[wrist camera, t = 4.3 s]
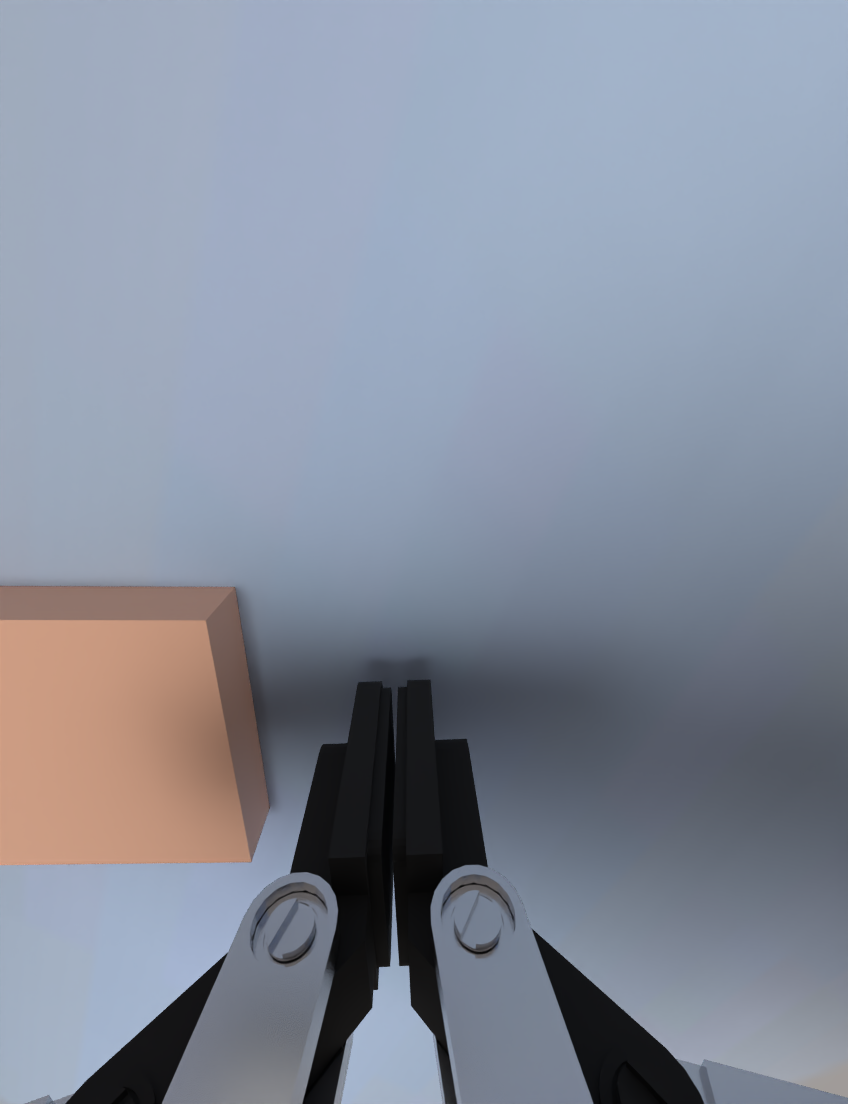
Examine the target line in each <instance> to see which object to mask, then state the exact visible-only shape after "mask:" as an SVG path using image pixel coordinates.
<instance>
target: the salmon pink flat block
mask: <svg viewBox="0 0 848 1104" xmlns="http://www.w3.org/2000/svg"><path fill="white" fill-rule="evenodd" d="M269 808H270V806H269V800H268V793H267V787H266V781H265V774H264V768H263V761H262V755H261V749H260V742H259V736H258V730H257V723H256V717H255V710H254V704H253V698H252V691H251V685H250V679H249V672H248V666H247V659H246V653H245V647H244V640H243V634H242V628H241V621H240V615H239V608H238V602H237V596H236V589H235V587H100V586H0V865H44V864H133V863H222V862H251V861H252V858H253V855H254V852H255V850H256V847H257V844H258V841H259V838H260V835H261V832H262V829H263V826H264V823H265V820H266V817H267V814H268V811H269Z"/></svg>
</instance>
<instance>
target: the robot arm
mask: <svg viewBox="0 0 848 1104" xmlns="http://www.w3.org/2000/svg"><path fill="white" fill-rule="evenodd" d="M393 873H394V888H395V904H396V920H397V936H398V951H399V966H409V972H410V993H411V1006H412V1007H413V1009H414V1010H415V1011H416V1012H417V1014H418V1015H419V1016H420V1017H421V1019H422V1020H423V1021H424V1023H425V1024H426V1025H427V1026H428V1028H429V1029H430V1030H431V1031H432V1033H433V1040H434V1047H435V1054H436V1061H437V1068H438V1075H439V1082H440V1089H441V1096H442V1103H443V1104H848V1098H846V1097H843V1096H839V1095H835V1094H831V1093H828V1092H824V1091H820V1090H817V1089H813V1088H809V1087H805V1086H802V1085H798V1084H794V1083H790V1082H787V1081H783V1080H779V1079H775V1078H772V1077H768V1076H764V1075H760V1074H757V1073H753V1072H749V1071H746V1070H742V1069H738V1068H734V1067H731V1066H727V1065H723V1064H719V1063H716V1062H712V1061H708V1060H704V1061H703V1063H702V1065H701V1066H700V1065H697V1064H693V1063H689V1062H686V1061H682V1060H678V1059H675V1058H674V1057H673V1055H672V1054H671V1053H670V1052H669V1051H668V1050H667V1049H666V1048H665V1047H664V1046H663V1045H662V1044H661V1043H659V1042H658V1041H657V1040H656V1039H655V1038H654V1037H653V1036H652V1035H650V1034H649V1033H648V1032H647V1031H646V1030H645V1029H644V1028H643V1027H641V1026H640V1025H639V1024H638V1023H637V1022H636V1021H635V1020H634V1019H632V1018H631V1017H630V1016H629V1015H628V1014H627V1013H626V1012H625V1011H624V1010H622V1009H621V1008H620V1007H619V1006H618V1005H617V1004H616V1003H615V1002H613V1001H612V1000H611V999H610V998H609V997H608V996H607V995H606V994H604V993H603V992H602V991H601V990H600V989H599V988H598V987H597V986H596V985H594V984H593V983H592V982H591V981H590V980H589V979H588V978H587V977H585V976H584V975H583V974H582V973H581V972H580V971H579V970H578V969H576V968H575V967H574V966H573V965H572V964H571V963H570V962H569V961H567V960H566V959H565V958H564V957H563V956H562V955H561V954H560V953H559V952H557V951H556V950H555V949H554V948H553V947H552V946H551V945H550V944H548V943H547V942H546V941H545V940H544V939H543V938H542V937H541V936H539V935H538V934H537V933H536V932H535V931H534V930H533V929H532V928H531V925H530V923H529V920H528V917H527V914H526V911H525V909H524V906H523V903H522V901H521V899H520V897H519V895H518V893H517V891H516V889H515V888H514V887H513V886H512V884H511V883H510V882H509V881H508V880H507V879H506V878H505V877H504V876H503V875H501V874H500V873H498V872H496V871H495V870H493V869H491V868H488V865H487V859H486V853H485V847H484V841H483V834H482V828H481V822H480V816H479V810H478V803H477V797H476V791H475V785H474V779H473V772H472V766H471V760H470V754H469V748H468V743H467V740H466V739H452V740H435V737H434V723H433V709H432V695H431V681H430V680H410V681H407V687H398V707H397V735H396V763H395V747H394V729H393V710H392V692H391V688H383V685H382V681H380V682H359V683H358V685H357V691H356V697H355V703H354V708H353V714H352V720H351V726H350V732H349V738H348V743H344V744H323V745H322V747H321V749H320V752H319V756H318V760H317V764H316V768H315V772H314V777H313V781H312V785H311V789H310V793H309V797H308V801H307V806H306V810H305V814H304V818H303V822H302V826H301V830H300V834H299V839H298V843H297V847H296V851H295V855H294V859H293V863H292V867H291V872H290V874H289V875H286V876H283V877H280V878H278V879H277V880H275V881H274V882H272V883H271V884H269V885H268V886H267V887H265V888H264V889H263V890H262V891H261V893H260V894H259V895H258V896H257V897H256V898H255V899H254V900H253V902H252V903H251V905H250V907H249V909H248V910H247V912H246V914H245V915H244V918H243V920H242V922H241V924H240V927H239V929H238V931H237V933H236V936H235V938H234V940H233V943H232V945H231V947H230V949H229V952H228V953H227V954H226V955H225V956H223V957H222V958H221V959H220V960H219V961H218V962H217V963H216V964H215V965H214V966H212V967H211V968H210V969H209V970H208V971H207V972H206V973H205V974H204V975H202V976H201V977H200V978H199V979H198V980H197V981H196V982H195V983H194V984H193V985H191V986H190V987H189V988H188V989H187V990H186V991H185V992H184V993H183V994H181V995H180V996H179V997H178V998H177V999H176V1000H175V1001H174V1002H173V1003H172V1004H170V1005H169V1006H168V1007H167V1008H166V1009H165V1010H164V1011H163V1012H162V1013H161V1014H159V1015H158V1016H157V1017H156V1018H155V1019H154V1020H153V1021H152V1022H151V1023H149V1024H148V1025H147V1026H146V1027H145V1028H144V1029H143V1030H142V1031H141V1032H140V1033H138V1034H137V1035H136V1036H135V1037H134V1038H133V1039H132V1040H131V1041H130V1042H129V1043H127V1044H126V1045H125V1046H124V1047H123V1048H122V1049H121V1050H120V1051H119V1052H117V1053H116V1054H115V1055H114V1056H113V1057H112V1058H111V1059H110V1060H109V1061H108V1062H106V1063H105V1064H104V1065H103V1066H102V1067H101V1068H100V1069H99V1070H98V1071H97V1072H95V1073H94V1074H93V1075H92V1076H91V1077H90V1078H89V1079H88V1080H87V1081H86V1082H85V1083H84V1084H83V1085H82V1086H81V1087H80V1088H79V1089H78V1090H77V1091H76V1092H75V1094H72V1095H69V1096H66V1097H64V1098H61V1099H58V1100H55V1101H53V1100H52V1099H51V1097H50V1096H49V1095H48V1096H45V1097H42V1098H39V1099H37V1100H34V1101H31V1102H28V1103H25V1104H341V1100H342V1095H343V1090H344V1084H345V1079H346V1074H347V1069H348V1064H349V1058H350V1053H351V1048H352V1043H353V1031H354V1030H355V1029H356V1028H357V1026H358V1025H359V1024H360V1022H361V1021H362V1020H363V1019H364V1017H365V1016H366V1015H367V1013H368V1012H369V1011H370V1010H371V1008H372V1002H373V990H378V975H379V967H389V966H390V958H391V929H392V898H393Z"/></svg>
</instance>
